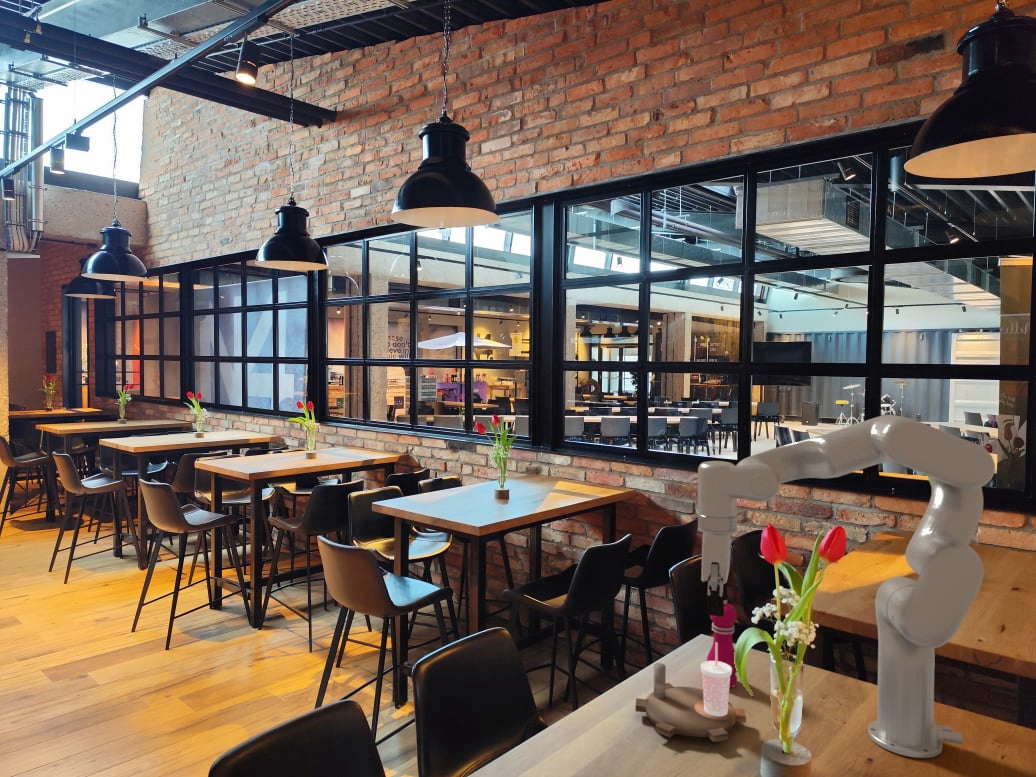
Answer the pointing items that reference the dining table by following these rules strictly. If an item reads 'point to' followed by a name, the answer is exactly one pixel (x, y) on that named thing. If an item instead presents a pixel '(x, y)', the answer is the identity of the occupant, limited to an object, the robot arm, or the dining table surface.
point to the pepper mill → (724, 639)
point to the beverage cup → (716, 685)
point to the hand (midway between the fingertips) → (717, 607)
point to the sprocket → (685, 711)
